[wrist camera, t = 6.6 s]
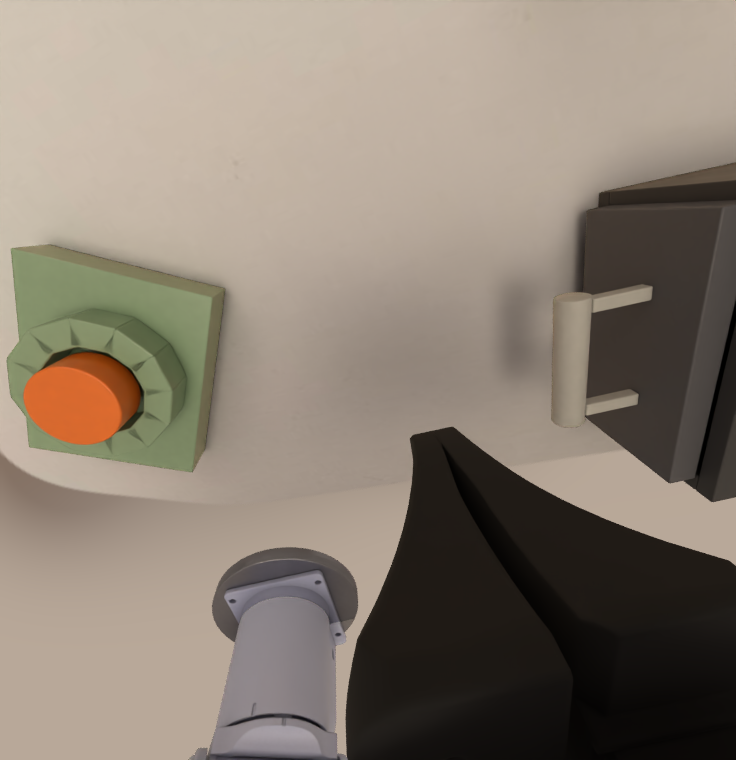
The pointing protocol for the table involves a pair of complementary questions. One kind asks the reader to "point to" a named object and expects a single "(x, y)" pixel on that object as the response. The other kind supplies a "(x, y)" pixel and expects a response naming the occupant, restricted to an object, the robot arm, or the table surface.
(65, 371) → the button
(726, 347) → the drawer
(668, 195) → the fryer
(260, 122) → the table surface
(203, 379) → the button housing
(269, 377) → the table surface
